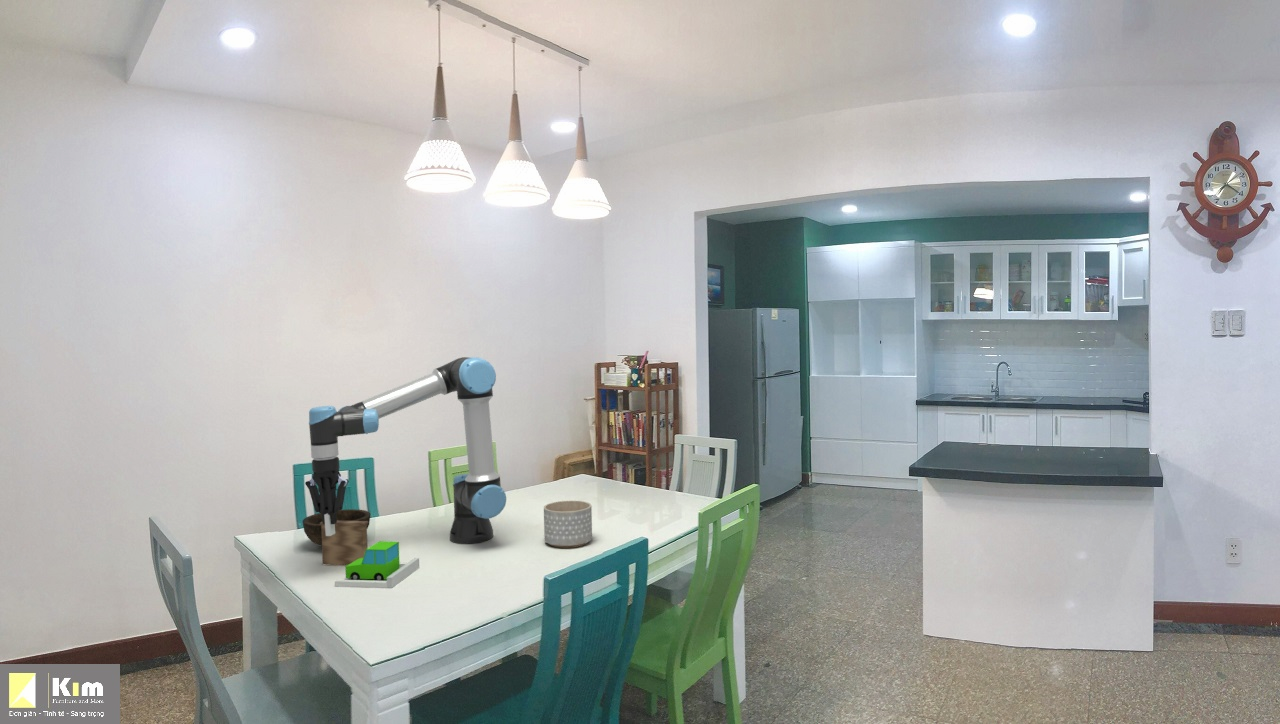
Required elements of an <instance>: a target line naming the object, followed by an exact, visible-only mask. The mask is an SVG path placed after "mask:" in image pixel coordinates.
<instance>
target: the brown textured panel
mask: <svg viewBox="0 0 1280 724" xmlns="http://www.w3.org/2000/svg"><path fill="white" fill-rule="evenodd" d="M367 524H368V521H337V522H336V523H335V534H333V535H331V536H326V532H325V524H323V523H322V522H320V525H321V531H322V546H321V549H322V550H321V551H322V552H321V554H322V559H321V560H322V565H323V564H332V565H331V566H347V565H349V564H351V563H352V562H354V561H356V560H357V559H359V558H363V557H364V554H365V551H366V549H367V548H368V529H367Z"/></svg>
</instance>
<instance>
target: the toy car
mask: <svg viewBox="0 0 1280 724" xmlns="http://www.w3.org/2000/svg"><path fill="white" fill-rule="evenodd" d="M399 562H400V542H399V541H389V540H388V541H386V540H385V541H384V540H382V541H381V540H379V541H378V542H375V543H374V544H373V545H371V546H369V547H367V549H366V551H365V554H364V557H363V558H359V559H357V560H356V561H354V562H352V563H351V564H349V565H345V568H344V569H345V579H350V580H374V581H386V580H387V577H388V576H390V575H391V574H392V573H394V572H395V571H397V570H398V569H400V564H399Z"/></svg>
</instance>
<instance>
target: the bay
mask: <svg viewBox="0 0 1280 724" xmlns="http://www.w3.org/2000/svg"><path fill="white" fill-rule="evenodd" d="M399 564H400V569H398V570H397V571H395V572H394V573H392V574H391V575H390V576H388V577H387V579H386V580H384V581H375V580H374V579H361V580H351V579H336V580H334V587H340V588H341V587H343V588H372V589H373V588H375V589H376V588H379V589H393V588H395V586H397V585H398V584H400V583H401V582H402V581H403V580H405V579H406V578H407V577H409V576H410V575H412V574H413V573H414V572H416V571H417V570H418V569H419V568H420V558H419V557H414V558H412V559H411V560H410V561H408V562H402V561H401V562H400V561H399Z"/></svg>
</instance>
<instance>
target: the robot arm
mask: <svg viewBox="0 0 1280 724" xmlns="http://www.w3.org/2000/svg"><path fill="white" fill-rule="evenodd" d="M496 379H497V374H496V371H495V369H494V367H493V365H492V364H491V363H490V362H489V361H487V360H486V359H484V358H480V357H475V356H472V357H468V356H467V357H466V356H465V357H459V358H455V359H454V360H452V361H450V362H447V363H446V364H443V365H440V366H439V367H437V368H434V369H433V371H432V372H431V373H429V374H427V375H424V376H422V377H419V378H416V379H415V380H412V381H410V382H407V383H404V384H402V385H399V386H396V387H394V388H392V389H390V390H386V391H384V392H382V393H379V394H377V395H374V396H371V397H369V398H367V399H365V400H361V401H360V402H357V403H354V404H352V405H345V406H342V407H340V409H338V411H337V410H336V406H333V405H325V406H323V405H322V406H315V407H314V406H313V407H311V408H309V411H308V420H309V421H308V426H309V439H310V455H311V458H312V460H311V466H312V467H311V469H312V472H313V474H312V476H311V478H310V479H309V480H307V481H306V482H305V486H306V488H307V489H308V491H309V495H310V498H311V500H312V505H313V507H314V511H315V513H321V514H322V523H323V524H325V532H326V536H331V535H333V534H335V523H336V522H337V516H336V513H337V512H338V511H340V510H343V506H344V501H345V493H346V489H347V486H348V483H349V481H350V480H349V479H347V478H346V479H345V478H343V477H342V475H341V473H340V458H339V442H338V440H339V439H338V438H339V437H344V436H345V437H346V436H355V435H356V436H357V435H365V434H366V435H368V434H371V433H376V432H377V431H378V430H379V428H380V426H379V425H380V419H382V418H385V417H387V416H389V415H391V414H394V413H396V412H399V411H402V410H404V409H407V408H409V407H411V406H415V405H416V404H419V403H421V402H424V401H426V400H428V399H431V398H433V397H435V396H438V395H440V394H441V395H444V396H445V395H448V394H450V393H455V392H456V395H457V401H459V402H460V403H461V404H462V409H463V421H464V430H465V431H464V432H465V433H464V434H465V442H466V454H467V463H468V464H467V465H468V466H467V467H468V473H464V474H457V475H455V476H454V477H453V484H452V487H453V511H454V515H453V517H454V518H453V520H452V521H453V522H452V525H451V527H450V531H449V541H451V542H452V543H456V544H475V543H477V544H478V543H481V542H486V541H489V540H490V539H493V537H494V528H493V525H492V523H491V520H490V519H492V518H495V517H497V516H498V515H499V514H501V513H502V511H503V510H504V509H505V507H506V504H507V494H506V492H505V490H504V489H503V488H502V485H501V475H500V474H499V473H498V472H497V471H496V468H495V460H494V458H495V457H494V448H493V435H492V423H491V412H490V400H492V398H493V396H494V393H493V392H494V391H493V387H494V386H495V384H496ZM337 486H338V487H337ZM328 512H329V513H328Z"/></svg>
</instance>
